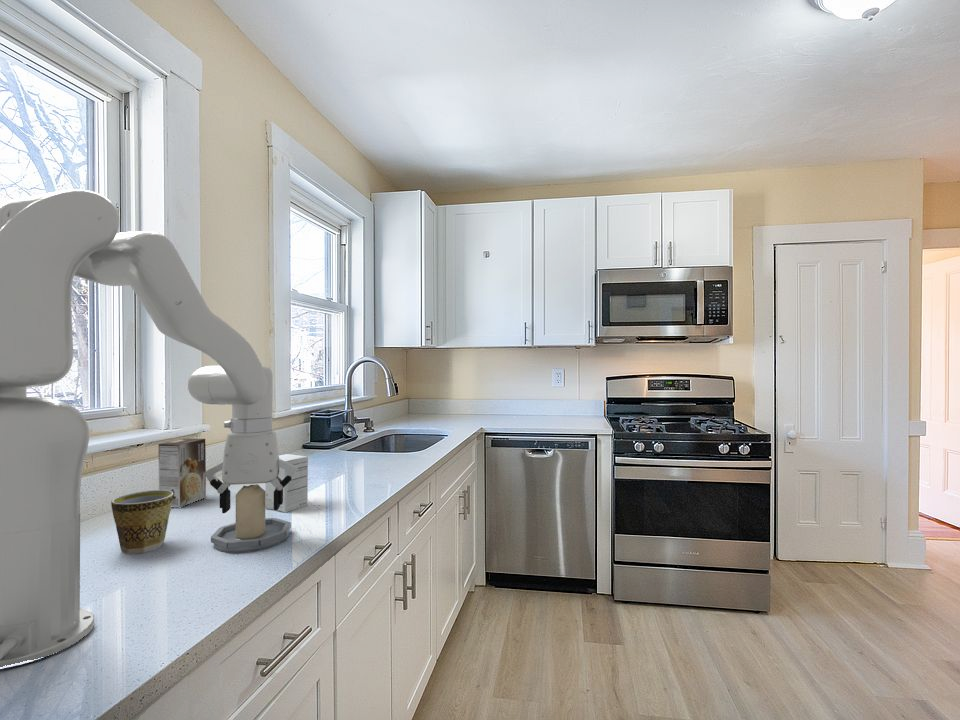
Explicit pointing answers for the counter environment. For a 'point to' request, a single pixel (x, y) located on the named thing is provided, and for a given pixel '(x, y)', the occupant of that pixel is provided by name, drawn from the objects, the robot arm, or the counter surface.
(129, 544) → the ceramic cup
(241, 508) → the candle
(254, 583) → the counter surface
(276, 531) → the slate dish
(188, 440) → the coffee box
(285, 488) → the supplement box
